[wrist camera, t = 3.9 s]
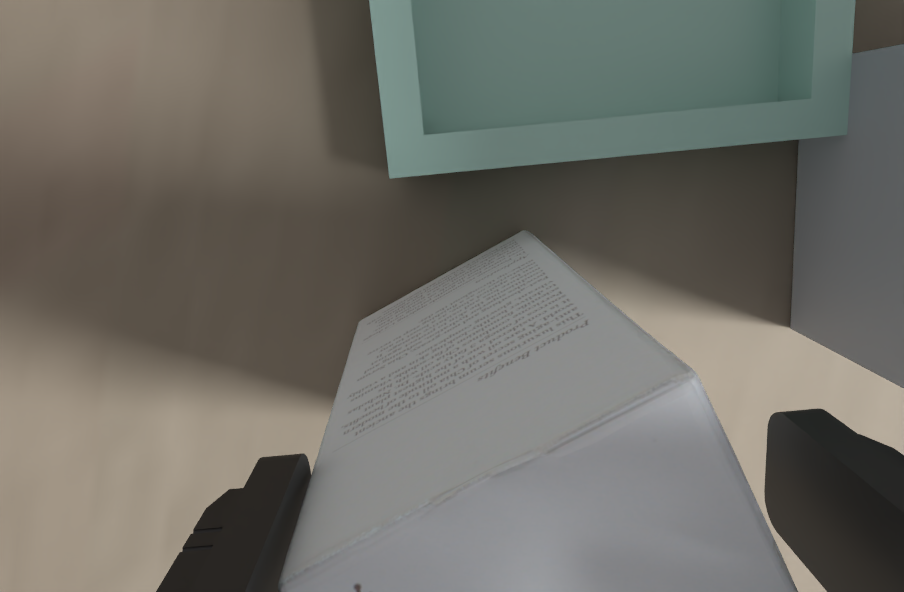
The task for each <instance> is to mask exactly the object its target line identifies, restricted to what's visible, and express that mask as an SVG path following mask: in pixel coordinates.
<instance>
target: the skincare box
mask: <svg viewBox="0 0 904 592" xmlns="http://www.w3.org/2000/svg"><path fill="white" fill-rule="evenodd" d="M278 590H279V592H798V591H797V588H796V586H795V584H794V582H793V580H792V577H791V575H790V573H789V571H788V569H787V566H786V564H785V562H784V560H783V557H782V555H781V553H780V551H779V549H778V547H777V544H776V542H775V540H774V538H773V536H772V534H771V531H770V529H769V527H768V525H767V523H766V521H765V518H764V516H763V514H762V512H761V510H760V508H759V505H758V503H757V501H756V499H755V497H754V494H753V492H752V490H751V488H750V486H749V484H748V481H747V479H746V477H745V475H744V473H743V470H742V468H741V466H740V464H739V461H738V459H737V457H736V455H735V453H734V451H733V448H732V446H731V444H730V442H729V440H728V438H727V436H726V434H725V432H724V430H723V427H722V425H721V423H720V421H719V419H718V417H717V415H716V413H715V411H714V408H713V406H712V404H711V402H710V400H709V398H708V396H707V393H706V391H705V389H704V387H703V385H702V383H701V380H700V378H699V377H698V375H697V373H696V372H695V371H694V370H693V369H692V368H691V367H689V366H688V365H687V364H685V363H684V362H683V361H682V360H680V359H679V358H678V357H677V356H676V355H674V354H673V353H672V352H671V351H669V350H668V349H667V348H665V347H664V346H663V345H661V344H660V343H659V342H658V341H657V340H656V339H655V338H653V337H652V336H651V335H649V334H648V333H647V332H645V331H644V330H643V329H642V328H641V327H640V326H639V325H637V324H636V323H635V322H634V321H633V320H631V319H630V318H629V317H628V316H626V315H625V314H624V313H623V312H622V311H621V310H620V309H619V308H617V307H616V306H615V305H614V304H612V303H611V302H610V301H609V300H608V299H607V298H606V297H604V296H603V295H602V294H601V293H600V292H599V291H598V290H596V289H595V288H594V287H593V286H592V285H590V284H589V283H588V282H587V281H586V280H585V279H584V278H582V277H581V276H580V275H579V274H578V273H577V272H575V271H574V270H573V269H572V268H571V267H570V266H569V265H567V264H566V263H565V262H564V261H563V260H562V259H561V258H560V257H558V256H557V255H556V254H555V253H554V252H553V251H551V250H550V249H549V248H548V247H547V246H546V245H544V244H543V243H542V242H541V241H540V240H539V239H538V238H537V237H535V236H534V235H533V234H532V233H530V232H529V231H526V230H523V231H521V232H519V233H517V234H515V235H514V236H512V237H510V238H508V239H506V240H505V241H503V242H501V243H499V244H497V245H495V246H494V247H492V248H490V249H488V250H486V251H485V252H483V253H481V254H479V255H477V256H476V257H474V258H472V259H470V260H468V261H466V262H465V263H463V264H461V265H459V266H458V267H456V268H454V269H452V270H450V271H448V272H446V273H445V274H443V275H441V276H439V277H438V278H436V279H434V280H432V281H431V282H429V283H427V284H425V285H423V286H421V287H420V288H418V289H416V290H414V291H412V292H411V293H409V294H407V295H405V296H404V297H402V298H400V299H398V300H396V301H395V302H393V303H391V304H389V305H387V306H386V307H384V308H382V309H380V310H378V311H377V312H375V313H373V314H371V315H370V316H368V317H366V318H364V319H362V320H361V321H359V323H358V326H357V330H356V333H355V335H354V339H353V342H352V345H351V349H350V351H349V355H348V358H347V362H346V365H345V369H344V372H343V375H342V378H341V382H340V384H339V388H338V391H337V394H336V397H335V400H334V404H333V407H332V410H331V414H330V417H329V421H328V424H327V426H326V430H325V433H324V436H323V440H322V443H321V446H320V450H319V453H318V457H317V459H316V462H315V465H314V469H313V472H312V476H311V479H310V482H309V485H308V488H307V491H306V495H305V498H304V501H303V504H302V507H301V510H300V514H299V517H298V521H297V524H296V527H295V530H294V533H293V536H292V539H291V542H290V546H289V549H288V552H287V555H286V559H285V563H284V566H283V570H282V573H281V576H280V579H279V583H278Z"/></svg>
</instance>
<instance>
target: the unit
mask: <svg viewBox="0 0 904 592" xmlns="http://www.w3.org/2000/svg"><path fill="white" fill-rule="evenodd" d="M790 328H791V329H792V330H794V331H796V332H798V333H800V334H802V335H804V336H806V337H808V338H809V339H811V340H813V341H815V342H817V343H819V344H821V345H823V346H825V347H826V348H828V349H830V350H832V351H834V352H836V353H838V354H840V355H842V356H844V357H845V358H847V359H849V360H851V361H853V362H855V363H857V364H859V365H861V366H862V367H864V368H866V369H868V370H870V371H872V372H874V373H876V374H878V375H879V376H881V377H883V378H885V379H887V380H889V381H891V382H893V383H895V384H896V385H898V386H900V387H902V388H904V44H901V45H896V46H890V47H885V48H880V49H875V50H869V51H864V52H859V53H853V54H852V65H851V81H850V97H849V113H848V129H847V135H840V136H830V137H819V138H809V139H799V144H798V167H797V190H796V212H795V235H794V258H793V280H792V303H791V325H790Z"/></svg>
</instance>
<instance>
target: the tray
mask: <svg viewBox="0 0 904 592" xmlns="http://www.w3.org/2000/svg"><path fill="white" fill-rule="evenodd" d="M855 1H856V0H369V5H370V13H371V22H372V31H373V40H374V48H375V57H376V66H377V75H378V83H379V92H380V101H381V110H382V118H383V127H384V136H385V145H386V153H387V162H388V171H389V179H390V178H400V177H411V176H421V175H432V174H442V173H453V172H463V171H474V170H484V169H495V168H505V167H516V166H526V165H536V164H547V163H557V162H568V161H578V160H589V159H599V158H610V157H620V156H631V155H641V154H652V153H662V152H673V151H683V150H694V149H704V148H714V147H725V146H735V145H746V144H756V143H767V142H777V141H788V140H798V139H809V138H819V137H830V136H840V135H847V129H848V113H849V97H850V81H851V65H852V49H853V33H854V17H855Z"/></svg>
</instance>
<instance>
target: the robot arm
mask: <svg viewBox="0 0 904 592" xmlns="http://www.w3.org/2000/svg"><path fill="white" fill-rule="evenodd" d="M310 479H311V471H310V466H309V462H308V459H307V456H306V455H305V454H294V455H282V456H271V457H262V458H260V459H259V460H258V462H257V464H256V466H255V468H254V469H253V471H252V473H251V475H250V477H249V479H248V481H247V483H246V485H245V486H244V488H240V489H229V490H228V491H227V492H226V493H224V494H223V495H222V496H221V497H220V498H218V499H217V500H216V501H215V502H213V503H212V504H211V505H210V506H209V507H207V508H206V510H205V511H204V513H203V515H202V516H201V518H200V520H199V521H198V523H197V525H196V526H195V528H194V530H193V534H191V535H190V536H189V538H188V540H187V541H186V543H185V545H184V546H183V552H180V553H179V555H178V556H177V558H176V560H175V561H174V563H173V564H172V566H171V568H170V569H169V571H168V573H167V574H166V576H165V578H164V579H163V581H162V583H161V584H160V586H159V588H158V589H157V591H156V592H279V590H278V583H279V579H280V576H281V573H282V570H283V566H284V563H285V559H286V555H287V552H288V549H289V546H290V542H291V539H292V536H293V533H294V530H295V527H296V524H297V521H298V517H299V514H300V510H301V507H302V504H303V501H304V498H305V495H306V491H307V488H308V485H309V482H310ZM765 503H766V508H767V512H768V515H769V518H770V520H771V523H772V525H773V527H774V528H775V530H776V531H777V533H778V534H779V535H780V536H781V537H782V539H783V540H784V541H785V542H786V543H787V545H788V546H789V547H790V548H791V549H792V550H793V552H794V553H795V554H796V555H797V556H798V558H799V559H800V560H801V561H802V562H803V563H804V565H805V566H806V567H807V568H808V569H809V571H810V572H811V573H812V574H813V575H814V576H815V578H816V579H817V580H818V581H819V582H820V584H821V585H822V586H823V587H824V588H825V589H826V591H827V592H904V455H902V454H901V453H900V452H898V451H897V450H895V449H894V448H892V447H889V446H887V445H884V444H882V443H880V442H877V441H875V440H872V439H870V438H868V437H865V436H863V435H860V434H857V433H856V432H854V431H853V430H851V429H850V428H849V427H847V426H846V425H845V424H843V423H842V422H840V421H839V420H838V419H836V418H835V417H834V416H832V415H831V414H829V413H828V412H827V411H825V410H823V409H809V410H798V411H786V412H776V413H774V414H773V415H772V416H771V417H770V420H769V423H768V432H767V453H766V473H765Z"/></svg>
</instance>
